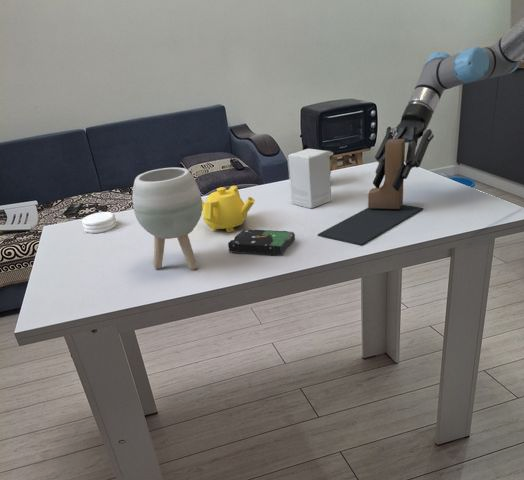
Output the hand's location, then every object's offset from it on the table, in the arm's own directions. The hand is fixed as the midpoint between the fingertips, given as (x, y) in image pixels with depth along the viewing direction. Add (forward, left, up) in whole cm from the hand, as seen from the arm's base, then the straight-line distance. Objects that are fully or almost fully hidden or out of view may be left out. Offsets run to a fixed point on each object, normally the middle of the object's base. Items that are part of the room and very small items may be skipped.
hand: (385, 186), depth 146 cm
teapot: (+35, +28, -8) cm, 46 cm away
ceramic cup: (+37, -16, -8) cm, 41 cm away
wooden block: (+2, -4, -7) cm, 8 cm away
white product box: (+26, 0, -8) cm, 27 cm away
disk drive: (+15, +34, -8) cm, 38 cm away
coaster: (+71, +48, -8) cm, 86 cm away
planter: (+26, +53, -8) cm, 60 cm away
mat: (0, +6, -8) cm, 10 cm away
